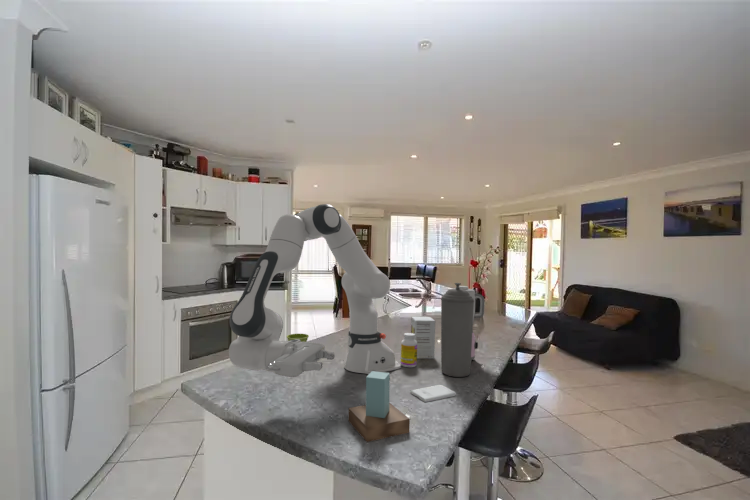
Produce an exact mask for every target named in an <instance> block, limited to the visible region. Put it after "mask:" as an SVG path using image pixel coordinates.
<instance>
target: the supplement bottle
mask: <svg viewBox="0 0 750 500" xmlns="http://www.w3.org/2000/svg"><path fill="white" fill-rule="evenodd" d="M417 363H418V358H417V341H416V340H415V334H413V333H411V332H405V333H403V339H402V340H401V342H400V365H401V367H404V368H415V367H417V365H418V364H417Z"/></svg>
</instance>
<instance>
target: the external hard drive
mask: <svg viewBox="0 0 750 500" xmlns="http://www.w3.org/2000/svg"><path fill="white" fill-rule="evenodd" d="M409 393H410V394H412V395H413V396H415V397H417V398H418V399H419V400H421V401H423V402H424V403H427V402H431V401H436V400H437V401H438V400H442V399H446V398H451V397H455V396H457V393H456V391H454V390H452V389H450V388H449V387H446V386H445V385H442V384H435V385H432V386H427V387H421V388H417V389H412V390H410V391H409Z"/></svg>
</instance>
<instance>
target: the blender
mask: <svg viewBox="0 0 750 500" xmlns="http://www.w3.org/2000/svg"><path fill="white" fill-rule="evenodd" d="M459 288H460V289H462V290H466V291H467V292H468V293H469V294H470V295H471V296H472V298H473V299H474V308H473V323H474V320H475V319H476V318H477V319H478V318H479V319H480V318H482V317H484V316H485V315H484V313H485V298H484V296H483V294H480V293H476V291H475V289H472V288H469V286H467V285H459ZM450 289H456V287H454V288H447V291H448V290H450ZM476 298H477V299H479V301H480V303H479V304H480V306H479V313H476ZM473 329H474V328H473ZM473 329H472V348H471V361H472V360H473V361H474V360H475V359H476V358H475V357H476V349H478V348H479V343H478V342H477V341H476V335H475V333H474V330H473Z"/></svg>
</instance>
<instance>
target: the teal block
mask: <svg viewBox="0 0 750 500" xmlns="http://www.w3.org/2000/svg"><path fill="white" fill-rule="evenodd" d="M390 377H391V376H390V372H375V371H372V372H371V373H370V374H367V376H366V377H365V405H366V416H372V417H378V418H385V417H386V415H387V413H388V412H389V403H390V386H391V385H390V381H391V380H390Z"/></svg>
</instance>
